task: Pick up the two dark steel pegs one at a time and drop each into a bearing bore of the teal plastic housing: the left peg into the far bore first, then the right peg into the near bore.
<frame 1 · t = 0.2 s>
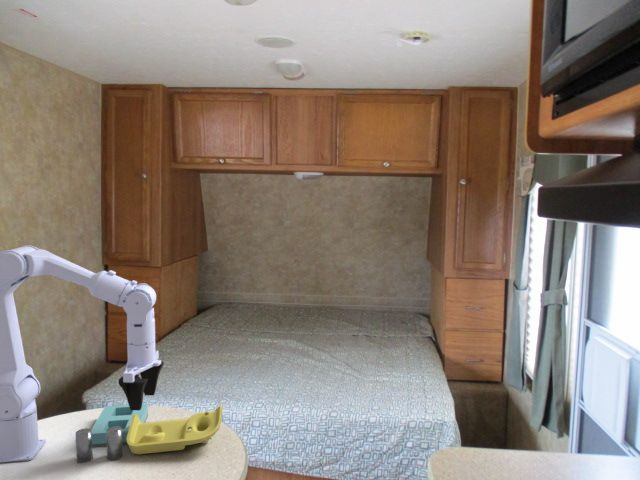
hand: (142, 401, 109), 10 cm above the table, tool pointing down, fingers open, 7 cm apart
housing: (120, 430, 116), on the table
plastic component: (176, 444, 110), on the table, touching housing
peg 2: (115, 456, 105), on the table
peg 1: (84, 459, 104), on the table
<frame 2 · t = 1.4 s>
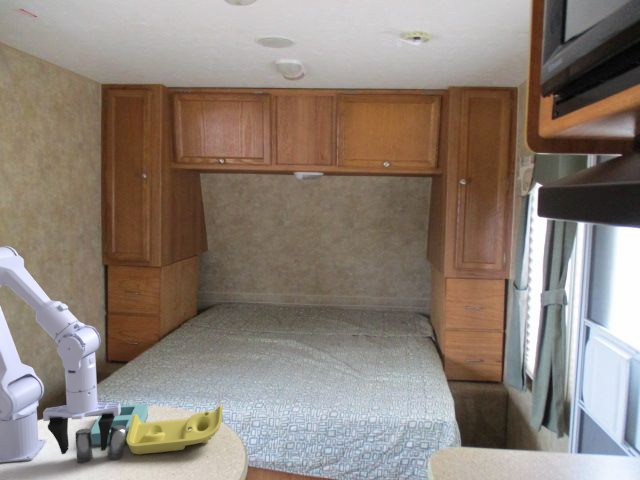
hand: (84, 449, 104), 2 cm above the table, tool pointing down, fingers open, 7 cm apart
peg 2: (115, 455, 105), on the table, tilted 9°
everything else where it was.
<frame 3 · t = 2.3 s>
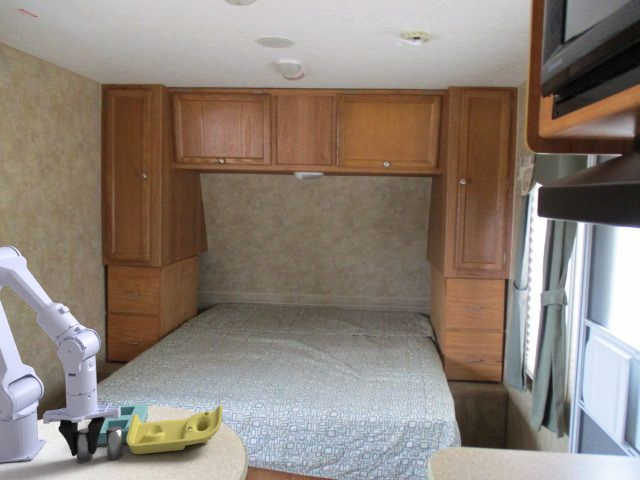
hand: (84, 452, 104), 1 cm above the table, tool pointing down, fingers closed on peg 1, 3 cm apart
peg 2: (115, 456, 105), on the table
peg 1: (84, 459, 104), on the table, touching gripper
everything else where it was.
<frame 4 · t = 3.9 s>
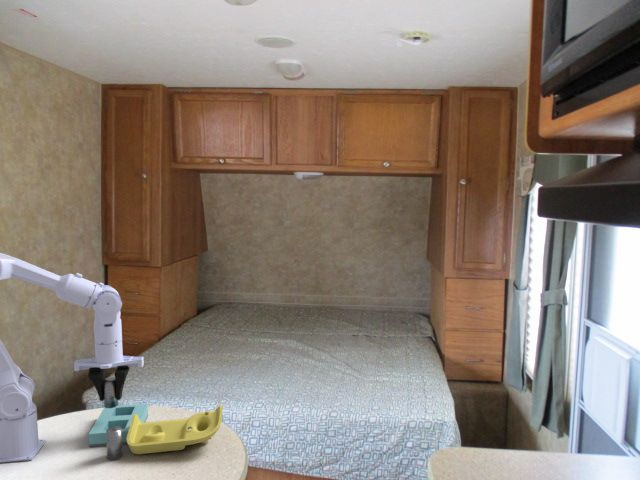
hand: (111, 398, 114), 8 cm above the table, tool pointing down, fingers closed on peg 1, 3 cm apart
peg 1: (111, 405, 114), point 7 cm above the table, touching gripper
everything else where it was.
when the fingers open (4 cm above the table, at t = 5.4 s): peg 1 drops 2 cm, resting on housing.
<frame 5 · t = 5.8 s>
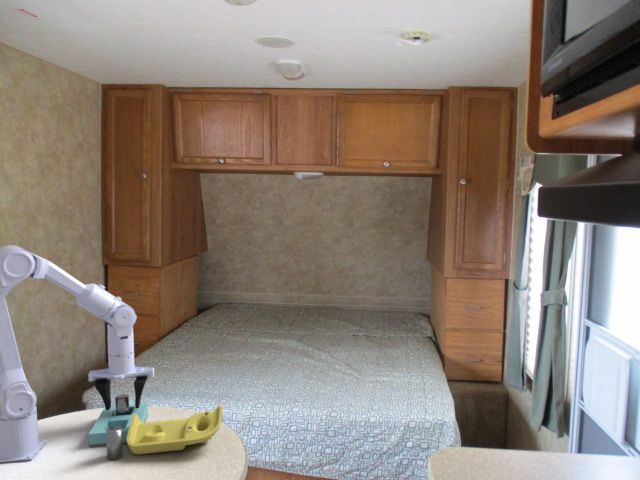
hand: (123, 407, 119), 4 cm above the table, tool pointing down, fingers open, 6 cm apart
peg 1: (123, 420, 120), point 1 cm above the table, touching housing
everything else where it was.
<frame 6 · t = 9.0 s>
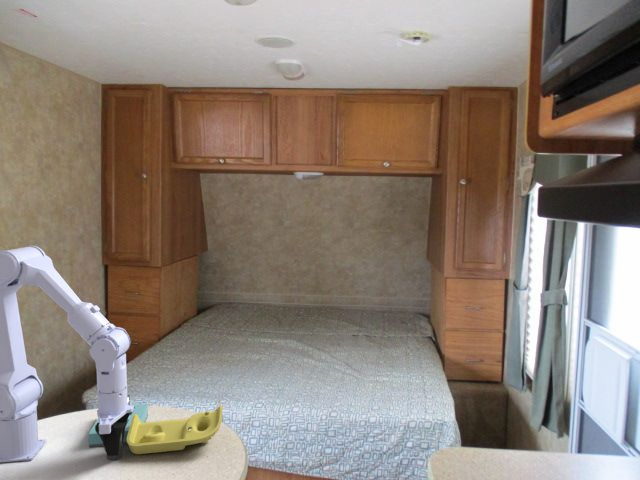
hand: (114, 450, 105), 1 cm above the table, tool pointing down, fingers closed on peg 2, 3 cm apart
peg 2: (115, 456, 105), on the table, touching gripper
everything else where it was.
when the fingers open (4 cm above the table, at t = 11.5 s): peg 2 drops 2 cm, resting on housing.
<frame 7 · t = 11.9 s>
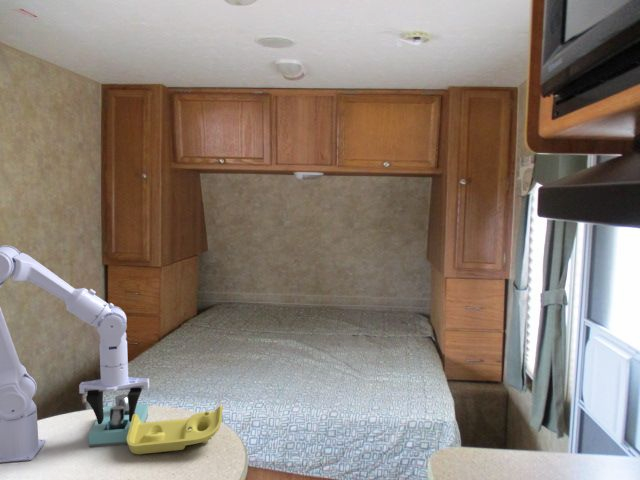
hand: (116, 421, 113), 4 cm above the table, tool pointing down, fingers open, 6 cm apart
peg 2: (116, 434, 113), point 1 cm above the table, tilted 5°, touching housing
everything else where it was.
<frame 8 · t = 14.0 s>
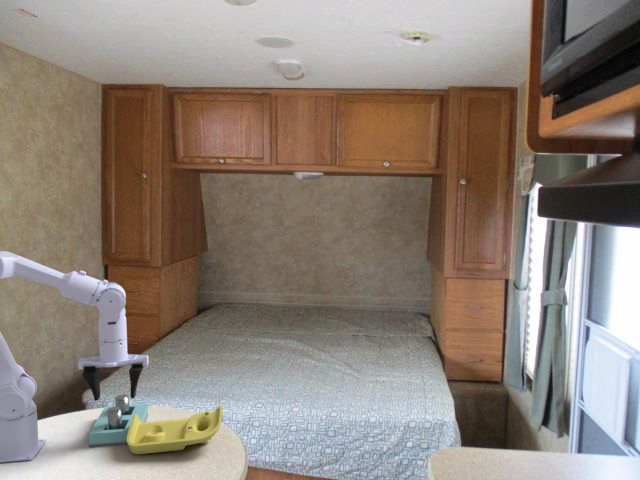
hand: (115, 397, 112), 9 cm above the table, tool pointing down, fingers open, 7 cm apart
nothing on the table moved.
at the end: peg 1 0.1 cm from the target spot on the housing, point 0.6 cm above the housing's base; peg 2 0.1 cm from the target spot on the housing, point 0.7 cm above the housing's base; peg 2 tilted 4° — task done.
